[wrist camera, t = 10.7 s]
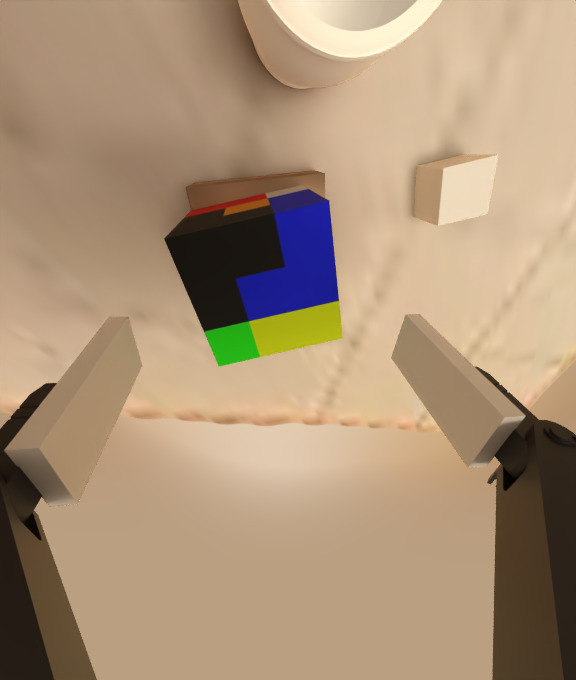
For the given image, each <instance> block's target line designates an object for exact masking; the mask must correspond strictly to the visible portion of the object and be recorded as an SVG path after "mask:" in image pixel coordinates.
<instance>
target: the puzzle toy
mask: <svg viewBox="0 0 576 680" xmlns="http://www.w3.org/2000/svg"><path fill="white" fill-rule="evenodd" d="M165 242H166V244H167V246H168V249H169V251H170V253H171V256H172V258H173V260H174V263H175V265H176V267H177V270H178V272H179V274H180V277H181V279H182V281H183V284H184V286H185V288H186V291H187V293H188V295H189V298H190V300H191V302H192V305H193V307H194V309H195V312H196V314H197V316H198V319H199V321H200V323H201V326H202V328H203V330H204V333H205V335H206V337H207V340H208V342H209V344H210V347H211V349H212V351H213V354H214V356H215V358H216V361H217V363H218V365H219V366H223V365H227V364H232V363H236V362H240V361H245V360H249V359H253V358H258V357H262V356H267V355H271V354H275V353H280V352H284V351H288V350H293V349H297V348H302V347H306V346H310V345H315V344H319V343H323V342H328V341H332V340H337V339H341V338H343V337H342V327H341V317H340V307H339V297H338V286H337V276H336V266H335V256H334V246H333V236H332V226H331V215H330V205H329V200H327V199H325V198H324V197H322V196H320V195H318V194H317V193H315V192H313V191H311V190H310V189H308V188H306V187H305V186H303V185H299V186H295V187H291V188H286V189H282V190H278V191H273V192H269V193H265V194H260V195H256V196H252V197H247V198H243V199H239V200H234V201H230V202H226V203H222V204H217V205H213V206H209V207H204V208H200V209H196V210H191V212H190V213H189V214H188V215H187V216H186V217H185V218H184V219H183V220H182V221H181V222H180V223H179V224H178V225H177V226H176V227H175V228H174V229H173V230H172V231H171V232H170V233H169V234H168V235H167V236H166V238H165Z"/></svg>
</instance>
